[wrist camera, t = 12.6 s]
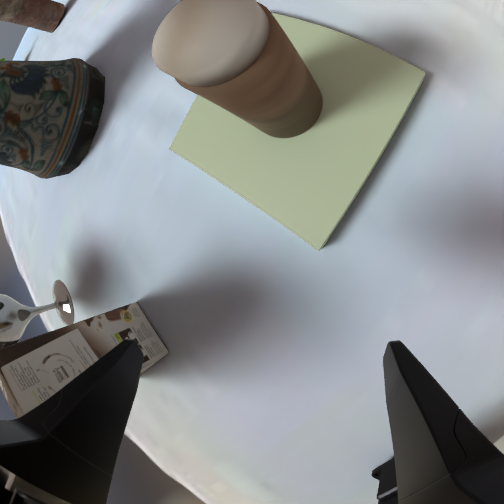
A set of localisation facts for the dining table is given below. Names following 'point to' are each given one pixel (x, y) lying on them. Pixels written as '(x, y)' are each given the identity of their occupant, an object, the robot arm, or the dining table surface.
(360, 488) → the dining table surface
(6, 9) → the candle
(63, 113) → the beer stein
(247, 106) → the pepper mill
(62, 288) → the wine glass
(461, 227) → the dining table surface
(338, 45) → the serving board
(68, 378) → the coffee box
